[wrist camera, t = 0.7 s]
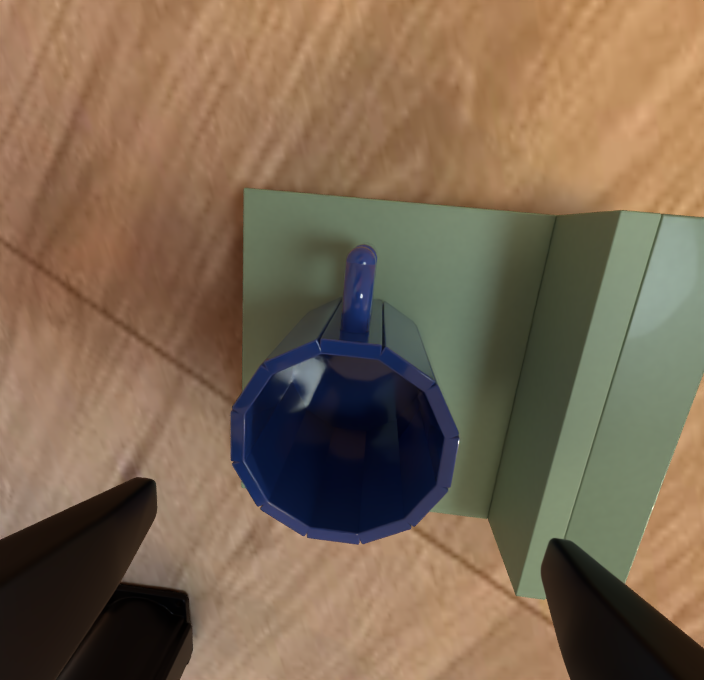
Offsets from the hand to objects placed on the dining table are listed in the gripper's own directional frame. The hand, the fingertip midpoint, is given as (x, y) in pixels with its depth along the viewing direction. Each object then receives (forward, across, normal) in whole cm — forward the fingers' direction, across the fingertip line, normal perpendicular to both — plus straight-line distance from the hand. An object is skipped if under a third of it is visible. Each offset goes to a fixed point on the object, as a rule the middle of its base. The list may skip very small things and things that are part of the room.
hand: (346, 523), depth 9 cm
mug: (+10, 0, -1) cm, 10 cm away
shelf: (+13, -3, 0) cm, 13 cm away
